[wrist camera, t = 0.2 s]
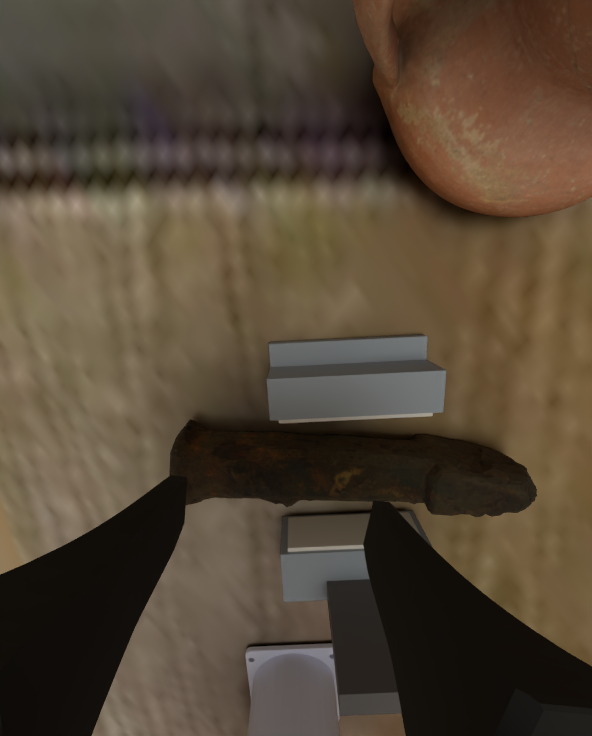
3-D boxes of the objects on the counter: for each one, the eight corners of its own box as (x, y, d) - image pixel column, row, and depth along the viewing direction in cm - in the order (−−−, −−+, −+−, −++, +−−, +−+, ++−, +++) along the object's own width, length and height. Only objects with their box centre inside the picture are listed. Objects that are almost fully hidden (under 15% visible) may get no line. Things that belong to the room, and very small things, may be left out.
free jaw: (410, 552, 25) (480, 711, 15) (285, 558, 25) (280, 720, 15) (412, 507, 23) (489, 648, 14) (282, 513, 24) (274, 657, 14)
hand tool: (190, 471, 23) (158, 529, 18) (189, 412, 22) (155, 454, 16) (488, 490, 24) (546, 551, 18) (504, 433, 22) (572, 481, 17)
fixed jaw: (418, 396, 21) (442, 417, 18) (274, 403, 21) (270, 425, 18) (422, 334, 20) (448, 343, 17) (269, 342, 20) (264, 352, 17)
